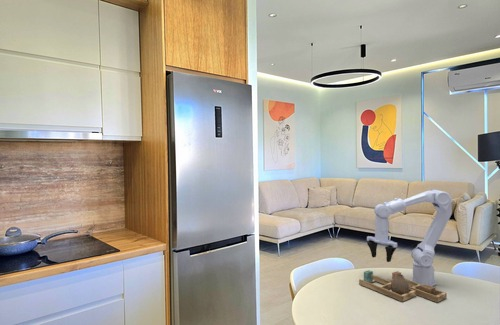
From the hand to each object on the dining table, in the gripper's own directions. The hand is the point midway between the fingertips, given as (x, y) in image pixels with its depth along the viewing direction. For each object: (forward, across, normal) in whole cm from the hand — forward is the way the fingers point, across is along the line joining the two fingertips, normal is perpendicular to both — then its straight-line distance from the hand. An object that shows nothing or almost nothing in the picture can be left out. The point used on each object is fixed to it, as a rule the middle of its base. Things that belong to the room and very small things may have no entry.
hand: (381, 259), depth 146 cm
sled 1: (+10, +8, -7) cm, 15 cm away
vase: (+11, +14, -7) cm, 19 cm away
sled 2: (+10, +15, +3) cm, 19 cm away
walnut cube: (+10, +20, +3) cm, 23 cm away
